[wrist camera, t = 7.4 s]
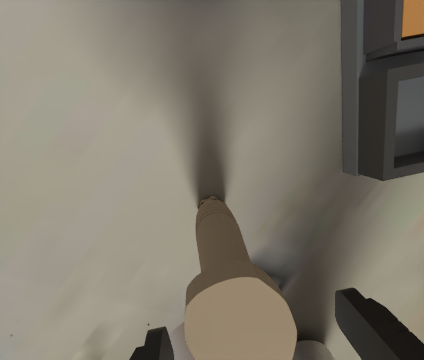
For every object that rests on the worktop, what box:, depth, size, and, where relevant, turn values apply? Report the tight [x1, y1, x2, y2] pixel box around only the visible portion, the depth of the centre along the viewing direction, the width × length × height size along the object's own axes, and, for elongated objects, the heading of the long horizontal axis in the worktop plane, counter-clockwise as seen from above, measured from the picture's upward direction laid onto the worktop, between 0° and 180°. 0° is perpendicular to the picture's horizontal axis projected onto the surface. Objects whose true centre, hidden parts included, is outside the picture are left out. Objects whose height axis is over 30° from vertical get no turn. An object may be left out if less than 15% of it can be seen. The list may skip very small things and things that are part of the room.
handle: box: [185, 196, 297, 360], centre depth 16 cm, size 5×6×15 cm
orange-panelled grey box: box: [341, 0, 424, 181], centre depth 19 cm, size 20×9×5 cm, turn 11°
